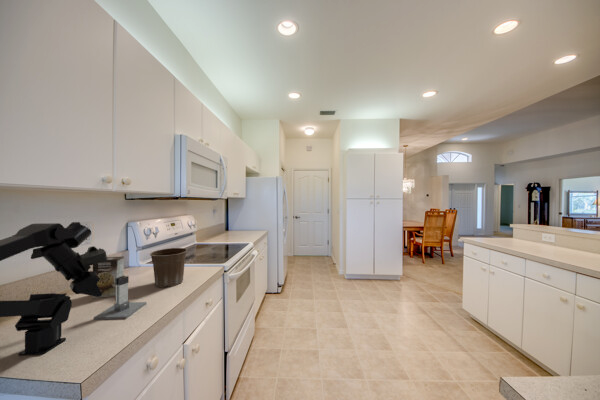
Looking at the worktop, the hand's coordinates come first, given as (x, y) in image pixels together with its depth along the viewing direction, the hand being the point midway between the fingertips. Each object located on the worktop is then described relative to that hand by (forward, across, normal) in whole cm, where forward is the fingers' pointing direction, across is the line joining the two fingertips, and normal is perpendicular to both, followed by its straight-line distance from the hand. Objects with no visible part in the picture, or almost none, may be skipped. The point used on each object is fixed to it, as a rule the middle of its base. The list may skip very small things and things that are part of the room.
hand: (96, 290), depth 75 cm
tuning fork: (+13, +1, -1) cm, 13 cm away
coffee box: (+18, +23, 0) cm, 29 cm away
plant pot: (+28, +16, -19) cm, 37 cm away
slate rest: (+13, 0, -1) cm, 13 cm away
